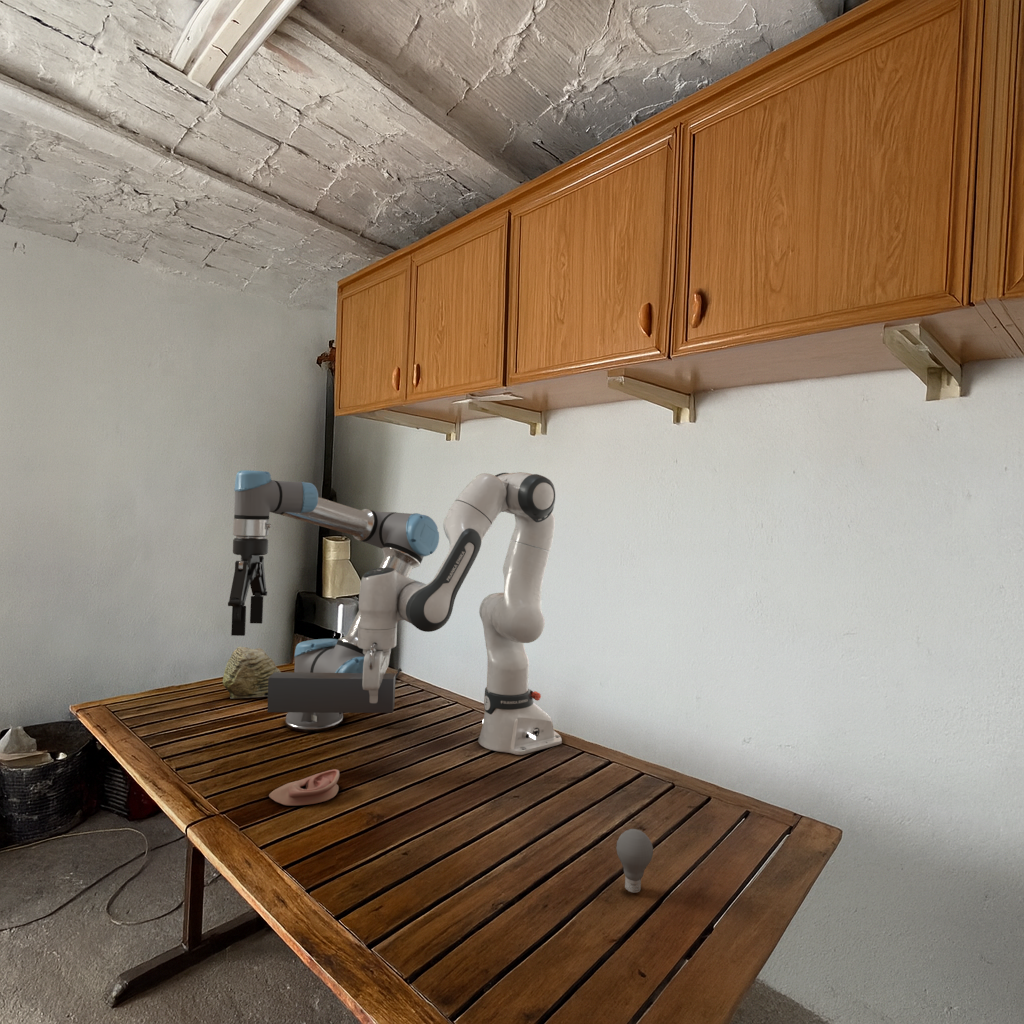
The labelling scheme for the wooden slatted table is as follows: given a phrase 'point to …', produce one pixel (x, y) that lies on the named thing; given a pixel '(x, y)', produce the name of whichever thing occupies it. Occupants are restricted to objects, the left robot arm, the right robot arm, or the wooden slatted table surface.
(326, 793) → the anatomical model
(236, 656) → the fossil
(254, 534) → the left robot arm
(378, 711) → the bar
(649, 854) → the light bulb
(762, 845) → the wooden slatted table surface
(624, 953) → the wooden slatted table surface
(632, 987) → the wooden slatted table surface
